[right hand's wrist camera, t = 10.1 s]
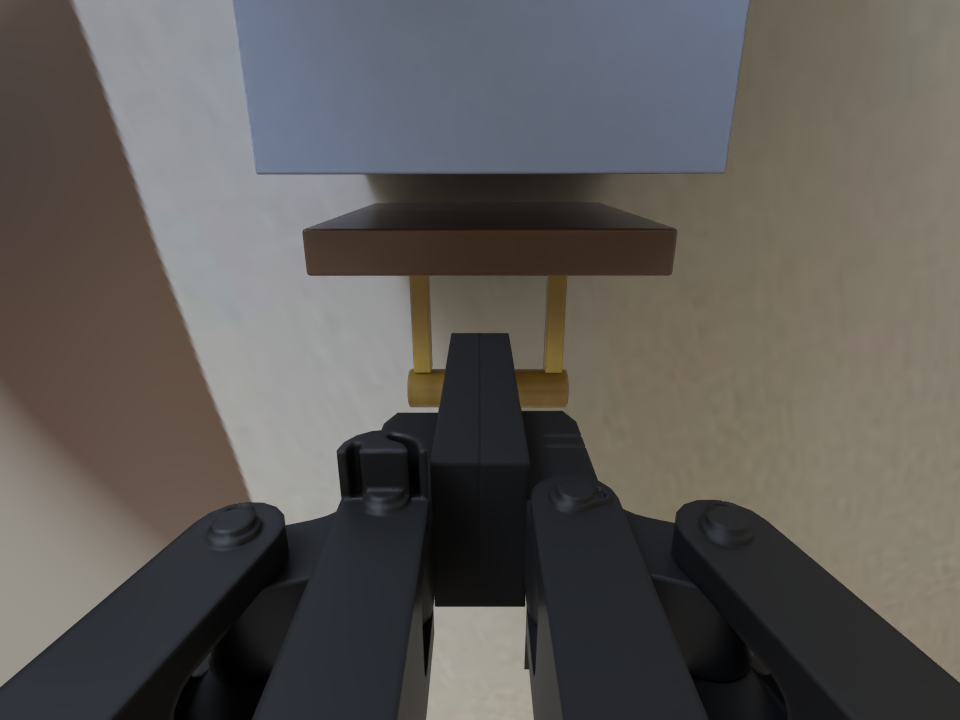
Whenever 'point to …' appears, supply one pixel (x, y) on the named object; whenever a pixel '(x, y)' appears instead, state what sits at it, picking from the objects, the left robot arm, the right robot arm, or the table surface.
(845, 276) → the table surface
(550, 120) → the cabinet
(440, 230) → the drawer
